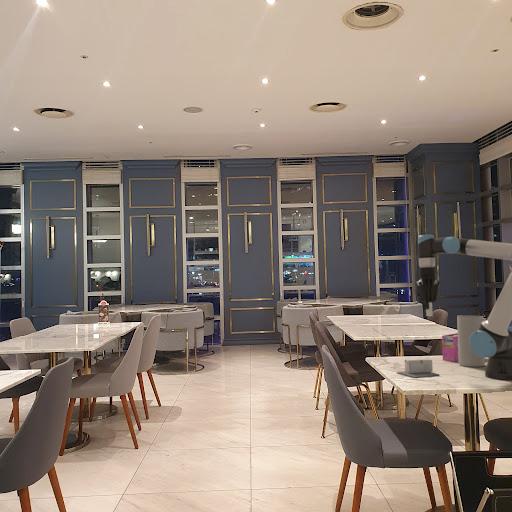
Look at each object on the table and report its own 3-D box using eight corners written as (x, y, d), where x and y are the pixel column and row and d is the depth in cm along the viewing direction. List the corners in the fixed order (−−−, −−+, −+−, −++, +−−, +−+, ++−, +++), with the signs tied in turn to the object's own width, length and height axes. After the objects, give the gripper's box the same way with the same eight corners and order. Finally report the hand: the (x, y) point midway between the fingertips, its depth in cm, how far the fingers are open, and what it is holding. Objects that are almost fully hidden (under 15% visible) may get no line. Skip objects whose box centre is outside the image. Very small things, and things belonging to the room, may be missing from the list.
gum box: (463, 355, 298) (463, 332, 299) (477, 357, 292) (476, 333, 293) (442, 360, 283) (441, 335, 283) (455, 362, 277) (454, 336, 277)
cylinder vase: (490, 366, 261) (488, 316, 262) (467, 367, 259) (465, 317, 260) (476, 362, 273) (474, 315, 274) (454, 363, 271) (452, 315, 272)
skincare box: (433, 372, 245) (409, 373, 243) (428, 370, 249) (404, 372, 247) (432, 359, 245) (408, 360, 243) (427, 357, 250) (404, 359, 247)
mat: (439, 375, 240) (439, 374, 240) (414, 378, 235) (414, 376, 235) (421, 371, 252) (421, 369, 252) (397, 373, 247) (396, 372, 247)
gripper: (432, 267, 256) (434, 315, 254) (411, 267, 251) (413, 316, 249) (443, 266, 249) (445, 315, 248) (422, 266, 244) (424, 317, 242)
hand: (429, 316), depth 248 cm, fingers closed
